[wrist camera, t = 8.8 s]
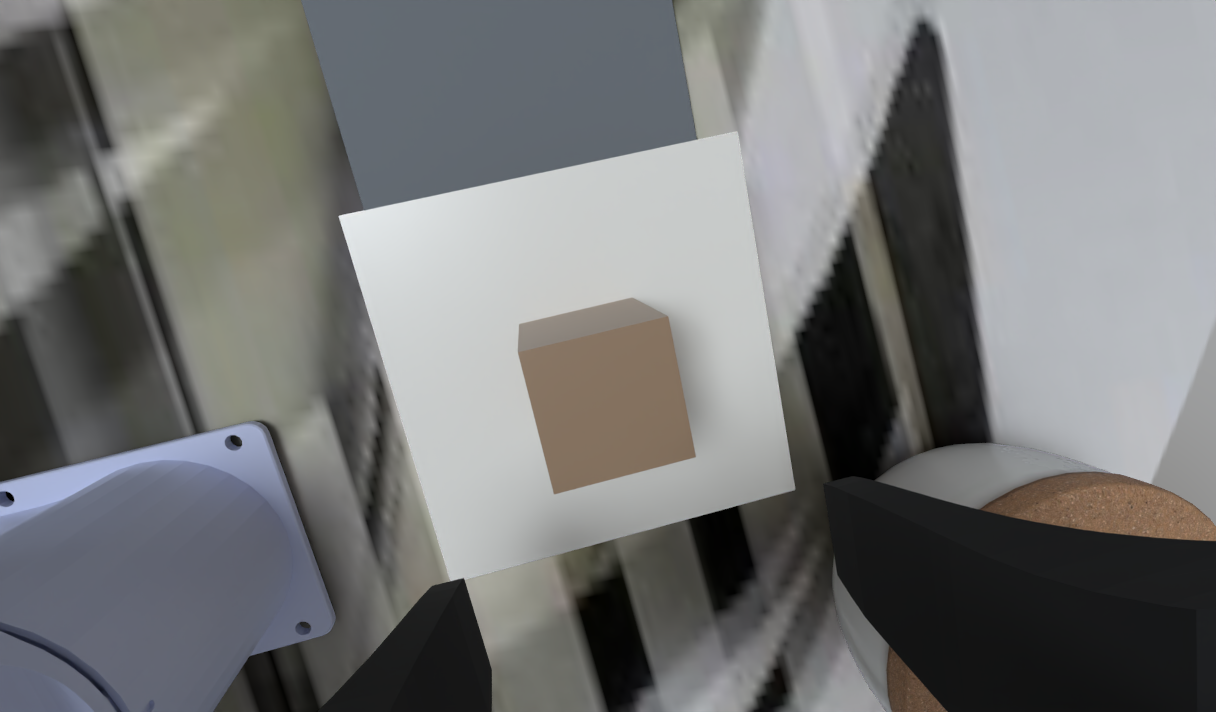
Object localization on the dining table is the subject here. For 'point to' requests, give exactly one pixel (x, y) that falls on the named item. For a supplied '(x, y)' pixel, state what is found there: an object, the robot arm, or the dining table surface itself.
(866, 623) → the lidded jar
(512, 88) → the mat
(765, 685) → the dining table surface
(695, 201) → the lid
